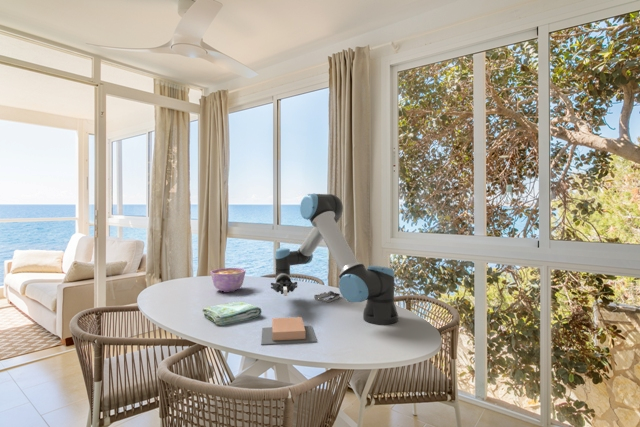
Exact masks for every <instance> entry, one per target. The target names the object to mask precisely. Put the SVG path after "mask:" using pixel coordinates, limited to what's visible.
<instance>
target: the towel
mask: <svg viewBox="0 0 640 427" xmlns="http://www.w3.org/2000/svg"><path fill="white" fill-rule="evenodd" d="M202 313H203V317H204V316H205V317H204V318H207V319H208V320H210V321H211V322H213V323H215V325H217V326H224V325H225V326H226V325H229V324H234V323H239V322H244V321H248V320H253V319H255V318H257V317H259V316H261V314H262V309H261V307H259V306H256V305H253V304H250V303H248V302H245V301H234V302H229V303H222V304H217V305H211V306H209V307H208V306H207V307H205V308H202Z"/></svg>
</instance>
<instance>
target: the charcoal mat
mask: <svg viewBox="0 0 640 427" xmlns="http://www.w3.org/2000/svg"><path fill="white" fill-rule="evenodd" d="M304 327H305V339H299V340H279V341H274V340H273V336H272V327H271V326H269V327H268V326H267V327H262V330H261V344H260V346H266V345H267V346H271V345H285V344H286V345H288V344H304V343H306V344H310V343H318V340H317V338H316V335H315V332H314V329H313V326H312V324H311V325H304Z"/></svg>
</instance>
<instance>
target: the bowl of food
mask: <svg viewBox="0 0 640 427" xmlns="http://www.w3.org/2000/svg"><path fill="white" fill-rule="evenodd" d="M210 275H211V280H212V282H213V286H214V287H215V289H216V290H219V291H220V292H222V291H224V292H223V293H230V292H229V291H233V292H235V291H234V290H239V289H240V288H241V287H242V285H243V284H244V281H245V280H244V279H245V277H246V276H245V275H246V269H245V268H239V267H227V268H226V267H223V268H217V269H213V270H210Z"/></svg>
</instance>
